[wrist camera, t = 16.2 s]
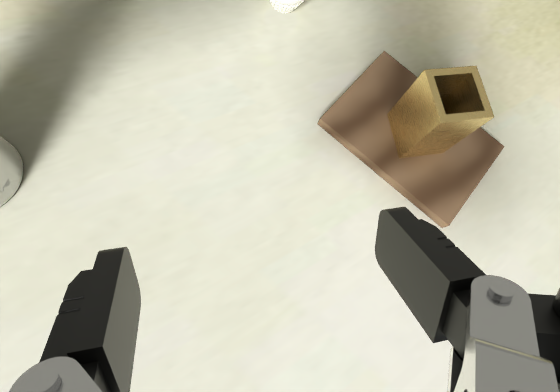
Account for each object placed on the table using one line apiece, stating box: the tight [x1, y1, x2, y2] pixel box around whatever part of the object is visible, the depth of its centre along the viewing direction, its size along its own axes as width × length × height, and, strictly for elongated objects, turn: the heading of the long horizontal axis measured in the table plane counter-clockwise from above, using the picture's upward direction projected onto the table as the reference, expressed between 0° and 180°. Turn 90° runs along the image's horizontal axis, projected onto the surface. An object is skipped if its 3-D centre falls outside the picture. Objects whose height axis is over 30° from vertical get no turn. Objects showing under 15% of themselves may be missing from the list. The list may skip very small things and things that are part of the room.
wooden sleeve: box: [387, 66, 494, 158], centre depth 43 cm, size 6×6×10 cm
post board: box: [318, 51, 504, 228], centre depth 46 cm, size 20×14×7 cm
